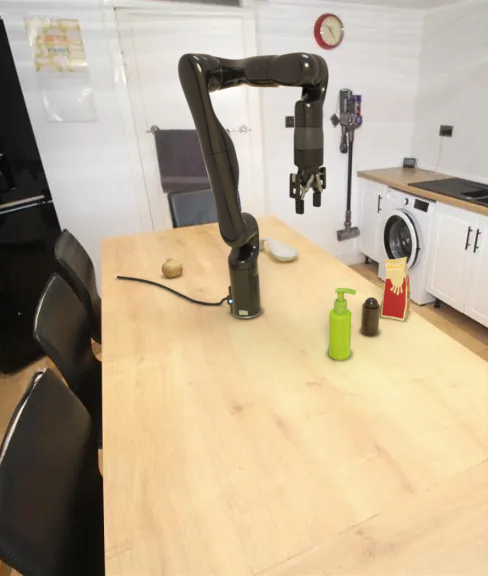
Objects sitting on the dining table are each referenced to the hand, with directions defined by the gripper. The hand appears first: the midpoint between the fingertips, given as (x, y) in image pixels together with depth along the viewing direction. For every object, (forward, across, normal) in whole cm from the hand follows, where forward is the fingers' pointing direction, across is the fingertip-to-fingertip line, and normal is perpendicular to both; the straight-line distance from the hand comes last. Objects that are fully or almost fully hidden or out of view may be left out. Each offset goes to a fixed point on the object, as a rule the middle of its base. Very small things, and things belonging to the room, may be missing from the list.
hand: (308, 210), depth 108 cm
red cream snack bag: (+38, -24, +18) cm, 48 cm away
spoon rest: (+38, -47, -46) cm, 76 cm away
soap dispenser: (+38, +5, +14) cm, 41 cm away
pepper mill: (+37, -9, +16) cm, 42 cm away
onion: (+39, -9, -69) cm, 80 cm away
